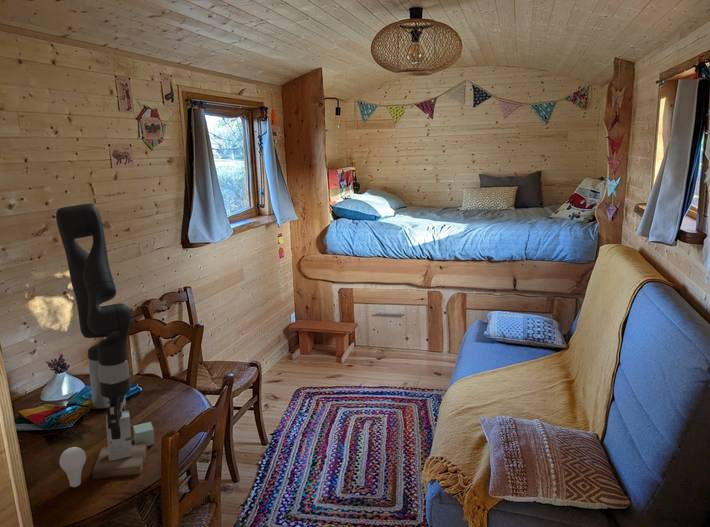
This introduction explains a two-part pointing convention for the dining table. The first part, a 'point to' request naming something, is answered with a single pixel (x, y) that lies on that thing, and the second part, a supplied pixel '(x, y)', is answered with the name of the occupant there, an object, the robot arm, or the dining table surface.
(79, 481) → the lightbulb
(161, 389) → the dining table surface
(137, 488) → the dining table surface
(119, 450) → the skincare box
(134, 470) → the beige flat slab
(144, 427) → the sage block
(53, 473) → the dining table surface
